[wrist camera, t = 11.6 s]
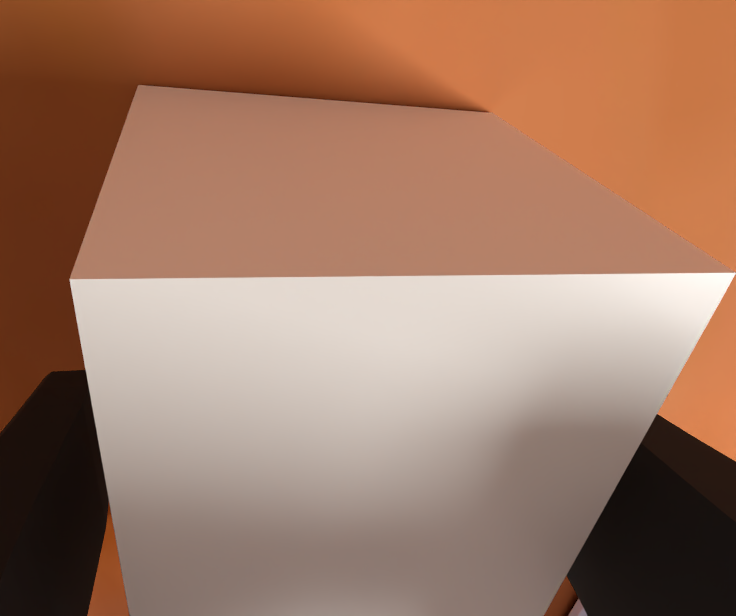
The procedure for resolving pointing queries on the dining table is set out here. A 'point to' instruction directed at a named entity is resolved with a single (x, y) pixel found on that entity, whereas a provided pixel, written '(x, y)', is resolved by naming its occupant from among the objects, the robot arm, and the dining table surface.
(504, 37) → the dining table surface
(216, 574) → the cream rectangular prism
